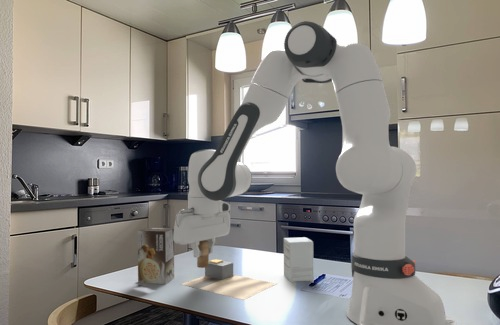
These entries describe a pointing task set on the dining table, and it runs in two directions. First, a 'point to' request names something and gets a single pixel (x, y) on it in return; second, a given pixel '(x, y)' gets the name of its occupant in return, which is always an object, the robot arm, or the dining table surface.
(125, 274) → the dining table surface
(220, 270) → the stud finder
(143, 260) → the brown food box
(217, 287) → the plywood board
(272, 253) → the dining table surface
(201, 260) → the marker peg
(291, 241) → the supplement box
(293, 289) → the dining table surface
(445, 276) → the dining table surface
